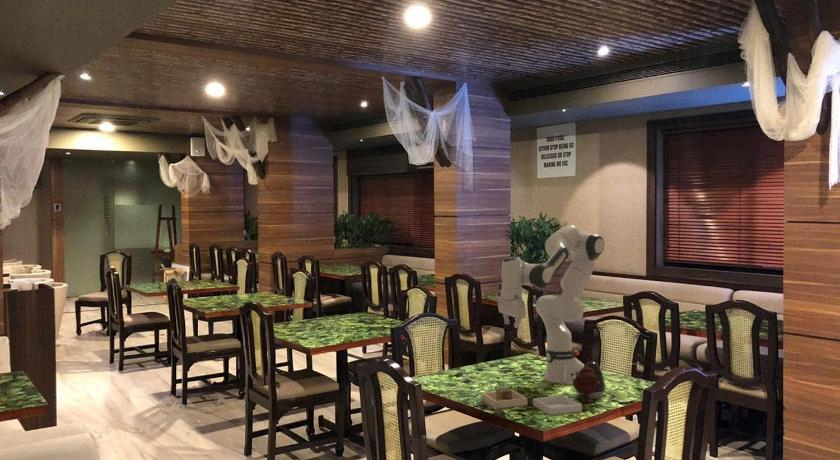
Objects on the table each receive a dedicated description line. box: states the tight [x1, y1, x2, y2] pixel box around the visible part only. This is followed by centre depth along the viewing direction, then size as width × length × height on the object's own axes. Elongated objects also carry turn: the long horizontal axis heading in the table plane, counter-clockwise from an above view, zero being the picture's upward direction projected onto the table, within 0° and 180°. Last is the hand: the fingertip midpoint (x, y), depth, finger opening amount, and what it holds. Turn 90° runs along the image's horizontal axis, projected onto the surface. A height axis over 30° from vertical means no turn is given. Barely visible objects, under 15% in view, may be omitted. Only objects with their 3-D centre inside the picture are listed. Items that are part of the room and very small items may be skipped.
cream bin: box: [481, 389, 528, 411], centre depth 279 cm, size 14×14×4 cm
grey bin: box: [532, 395, 583, 416], centre depth 270 cm, size 14×14×4 cm
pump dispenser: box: [584, 361, 606, 400], centre depth 288 cm, size 10×10×15 cm
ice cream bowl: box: [572, 367, 600, 405], centre depth 277 cm, size 11×11×15 cm
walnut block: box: [495, 387, 512, 401], centre depth 279 cm, size 5×5×5 cm
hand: (511, 325), depth 296 cm, fingers open, 8 cm apart
